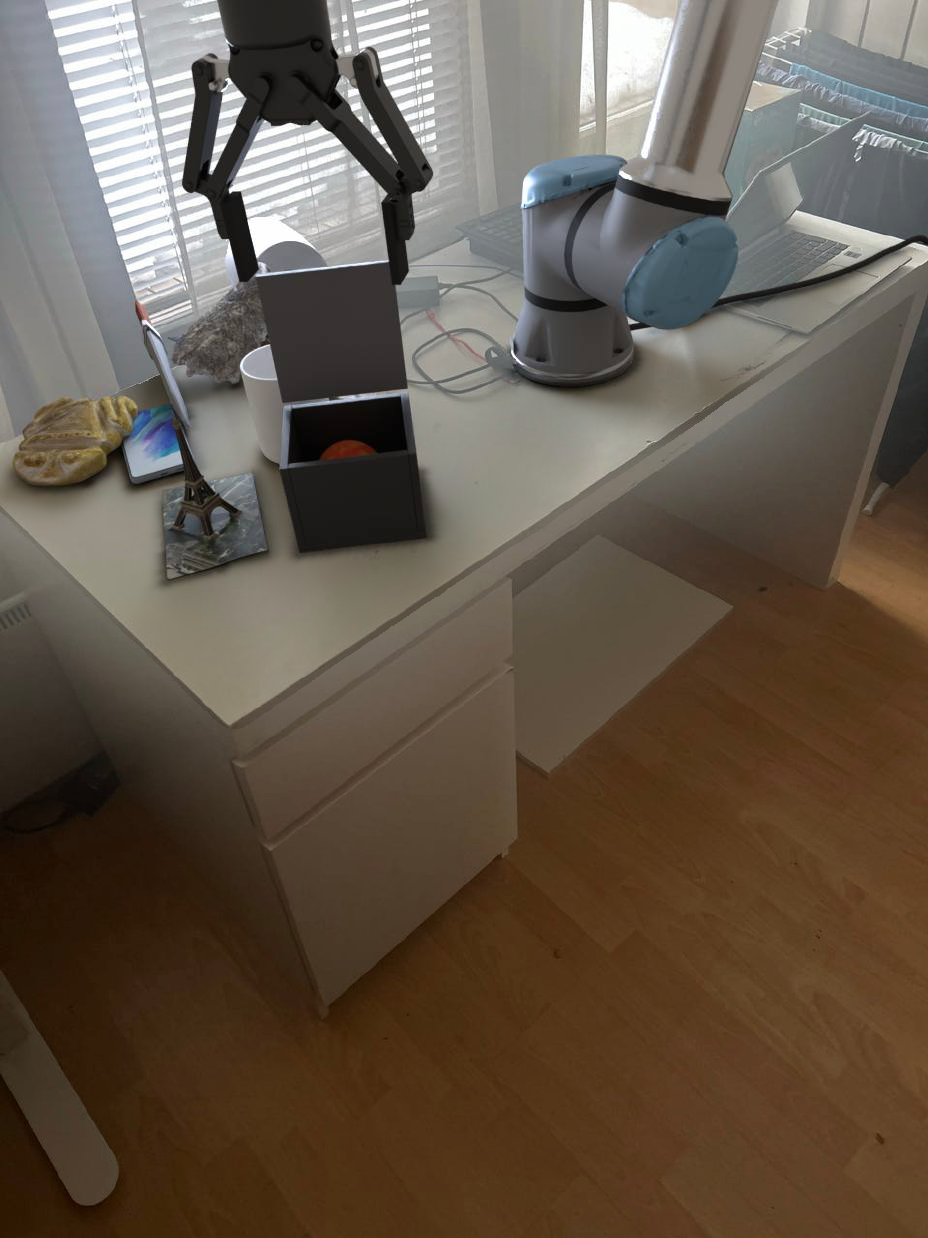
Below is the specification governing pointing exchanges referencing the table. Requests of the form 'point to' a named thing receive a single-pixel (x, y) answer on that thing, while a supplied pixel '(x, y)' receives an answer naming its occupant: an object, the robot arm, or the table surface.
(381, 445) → the open storage box
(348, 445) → the fruit
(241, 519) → the eiffel tower figurine
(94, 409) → the sculpture
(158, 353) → the dagger
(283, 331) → the lid
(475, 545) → the table surface
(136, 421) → the smartphone
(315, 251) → the toilet paper
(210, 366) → the rock
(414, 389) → the table surface
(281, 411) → the mug
